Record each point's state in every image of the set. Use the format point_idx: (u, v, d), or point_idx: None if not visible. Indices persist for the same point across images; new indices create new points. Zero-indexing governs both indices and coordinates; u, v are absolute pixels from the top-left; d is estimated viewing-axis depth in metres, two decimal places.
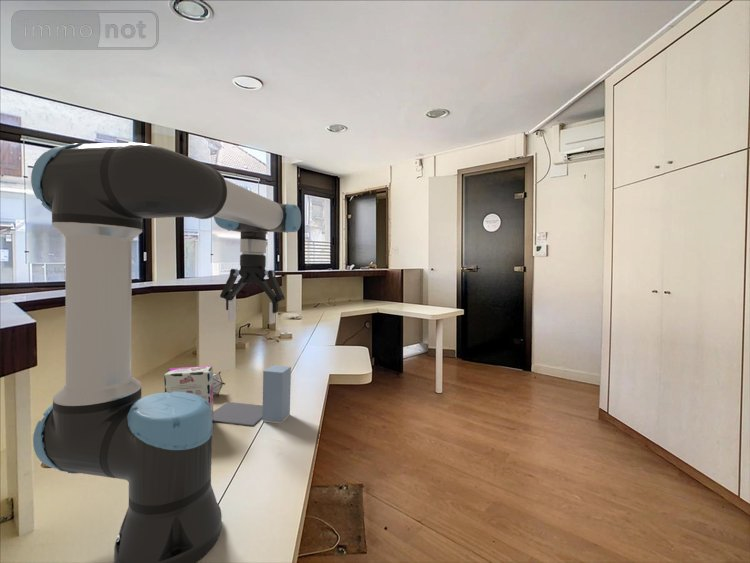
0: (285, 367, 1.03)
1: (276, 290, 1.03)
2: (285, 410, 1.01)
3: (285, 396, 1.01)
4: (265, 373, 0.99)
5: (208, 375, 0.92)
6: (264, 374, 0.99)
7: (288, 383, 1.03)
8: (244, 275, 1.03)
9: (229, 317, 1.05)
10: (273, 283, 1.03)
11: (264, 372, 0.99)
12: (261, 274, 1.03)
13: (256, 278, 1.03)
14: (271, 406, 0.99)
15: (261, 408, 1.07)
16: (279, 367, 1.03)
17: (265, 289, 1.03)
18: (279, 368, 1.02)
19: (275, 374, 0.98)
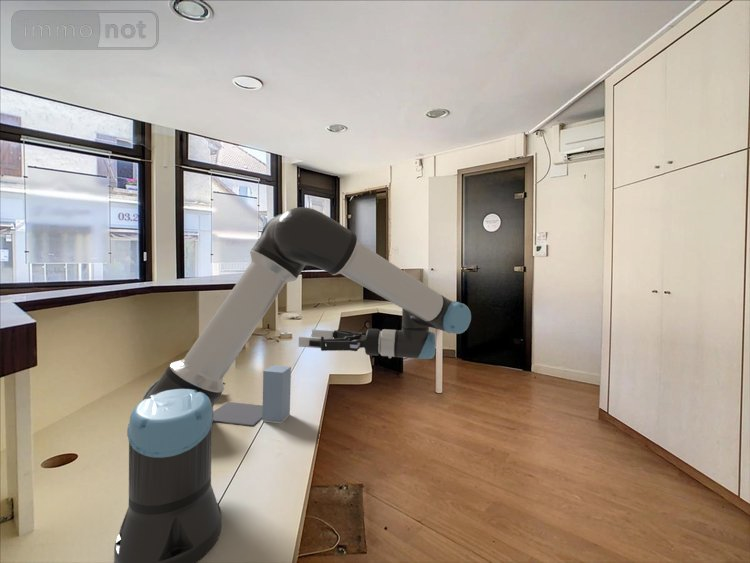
0: (285, 367, 1.03)
1: (333, 341, 0.91)
2: (285, 410, 1.01)
3: (285, 396, 1.01)
4: (265, 373, 0.99)
5: None
6: (264, 374, 0.99)
7: (288, 383, 1.03)
8: (358, 333, 0.99)
9: None
10: (342, 341, 0.91)
11: (264, 372, 0.99)
12: (356, 339, 0.94)
13: (352, 336, 0.95)
14: (271, 406, 0.99)
15: (261, 408, 1.07)
16: (279, 367, 1.03)
17: (338, 338, 0.94)
18: (279, 368, 1.02)
19: (275, 374, 0.98)
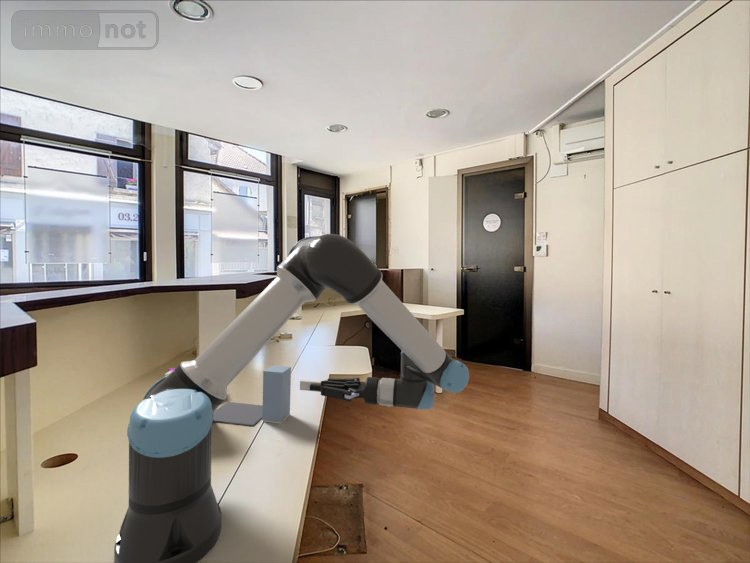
0: (285, 367, 1.03)
1: (331, 388, 0.95)
2: (285, 410, 1.01)
3: (285, 396, 1.01)
4: (265, 373, 0.99)
5: None
6: (264, 374, 0.99)
7: (288, 383, 1.03)
8: (357, 381, 0.99)
9: (305, 380, 1.01)
10: (338, 389, 0.94)
11: (264, 372, 0.99)
12: (355, 389, 0.95)
13: (351, 384, 0.97)
14: (271, 406, 0.99)
15: (261, 408, 1.07)
16: (279, 367, 1.03)
17: (337, 385, 0.97)
18: (279, 368, 1.02)
19: (275, 374, 0.98)
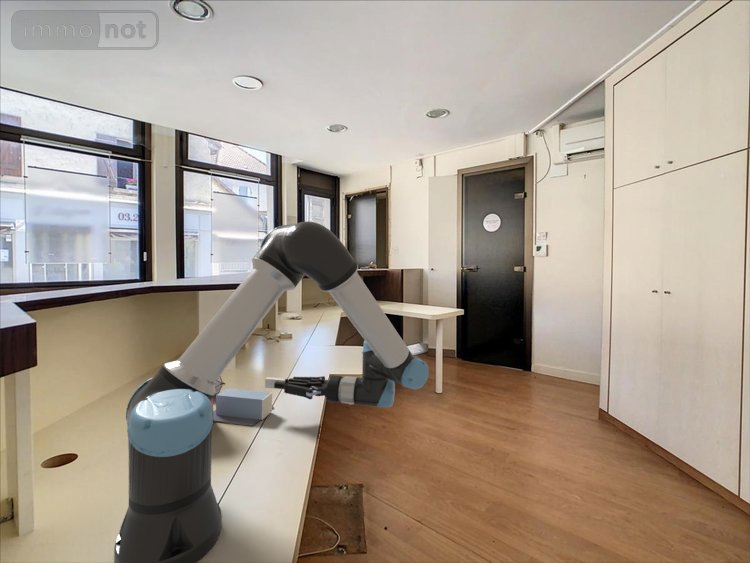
0: None
1: (293, 386, 0.97)
2: (259, 395, 1.02)
3: (244, 394, 1.03)
4: (217, 412, 1.02)
5: None
6: (218, 413, 1.02)
7: (238, 391, 1.05)
8: (320, 379, 1.01)
9: (270, 378, 1.03)
10: (300, 387, 0.96)
11: (217, 413, 1.02)
12: (317, 387, 0.97)
13: (314, 382, 0.99)
14: (247, 409, 1.00)
15: None
16: None
17: (300, 383, 0.99)
18: None
19: (218, 402, 1.01)
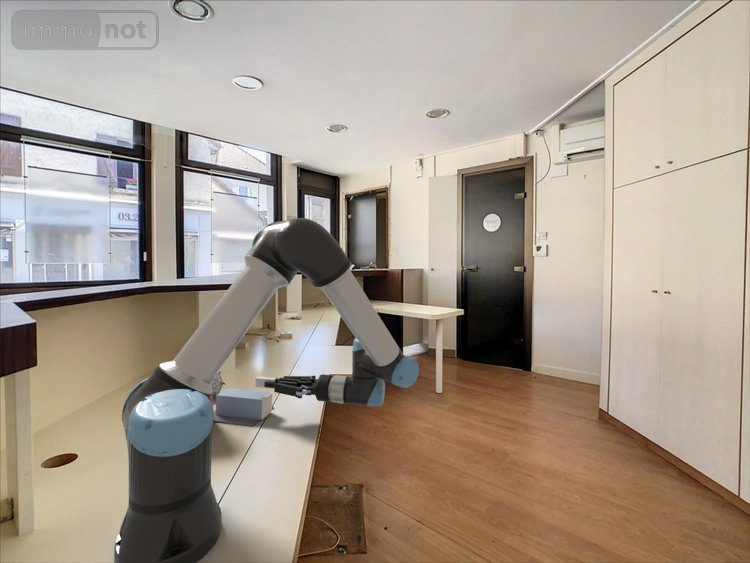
0: None
1: (283, 385, 0.97)
2: (259, 395, 1.02)
3: (244, 394, 1.03)
4: (217, 412, 1.02)
5: None
6: (218, 413, 1.02)
7: (238, 391, 1.05)
8: (311, 378, 1.01)
9: (261, 377, 1.03)
10: (290, 386, 0.96)
11: (217, 413, 1.02)
12: (307, 386, 0.97)
13: (304, 381, 0.99)
14: (247, 409, 1.00)
15: None
16: None
17: (291, 382, 1.00)
18: None
19: (218, 402, 1.01)
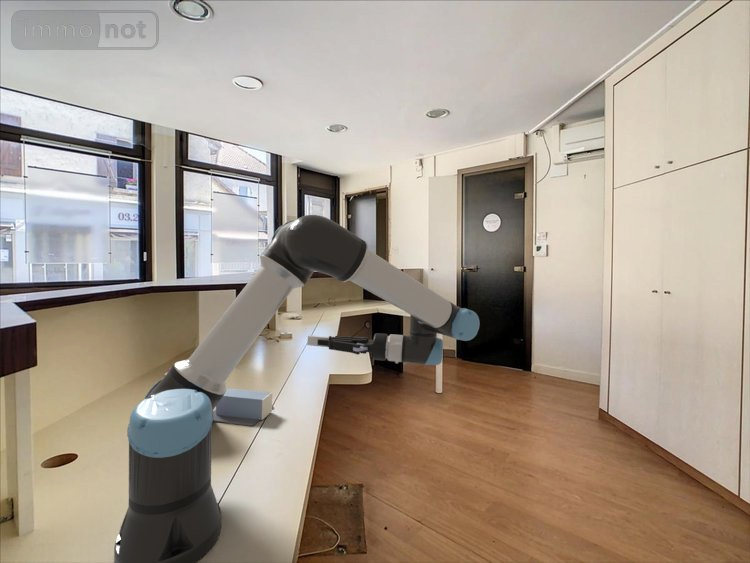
0: None
1: (339, 341, 0.95)
2: (259, 395, 1.02)
3: (244, 394, 1.03)
4: (217, 412, 1.02)
5: None
6: (218, 413, 1.02)
7: (238, 391, 1.05)
8: (365, 337, 0.99)
9: None
10: (346, 343, 0.94)
11: (217, 413, 1.02)
12: (363, 343, 0.94)
13: (360, 339, 0.96)
14: (247, 409, 1.00)
15: None
16: None
17: (345, 340, 0.97)
18: None
19: (218, 402, 1.01)
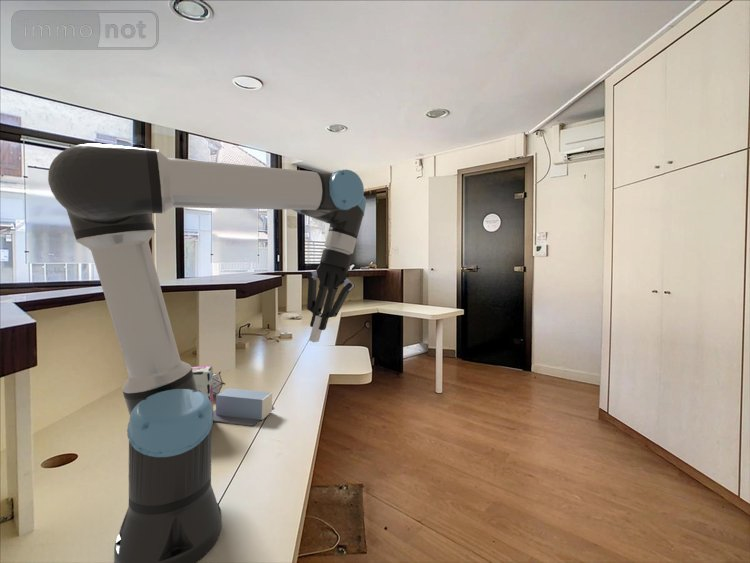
0: None
1: (336, 305, 0.84)
2: (259, 395, 1.02)
3: (244, 394, 1.03)
4: (217, 412, 1.02)
5: (208, 375, 0.92)
6: (218, 413, 1.02)
7: (238, 391, 1.05)
8: (323, 275, 0.85)
9: (311, 336, 0.85)
10: (341, 297, 0.84)
11: (217, 413, 1.02)
12: (341, 278, 0.84)
13: (332, 281, 0.84)
14: (247, 409, 1.00)
15: None
16: None
17: (328, 298, 0.85)
18: None
19: (218, 402, 1.01)
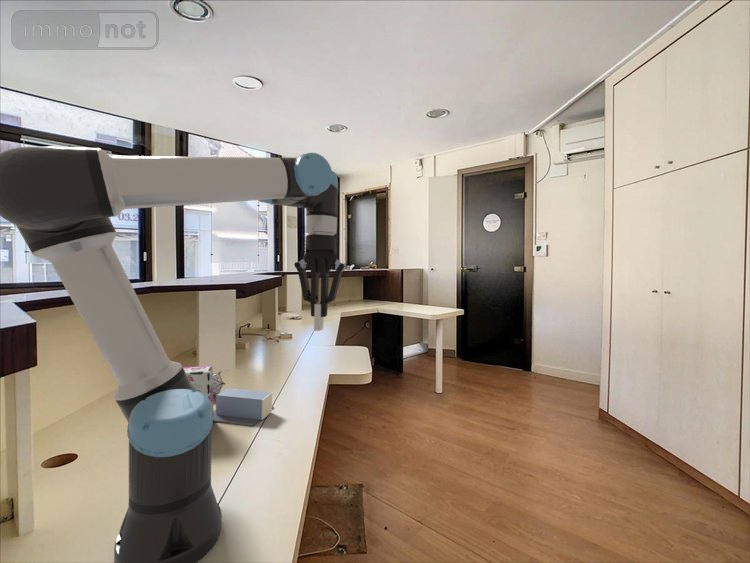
0: None
1: (333, 289, 0.82)
2: (259, 395, 1.02)
3: (244, 394, 1.03)
4: (217, 412, 1.02)
5: (208, 375, 0.92)
6: (218, 413, 1.02)
7: (238, 391, 1.05)
8: (312, 262, 0.82)
9: (315, 325, 0.83)
10: (336, 279, 0.82)
11: (217, 413, 1.02)
12: (331, 260, 0.82)
13: (323, 266, 0.82)
14: (247, 409, 1.00)
15: None
16: None
17: (323, 284, 0.83)
18: None
19: (218, 402, 1.01)
